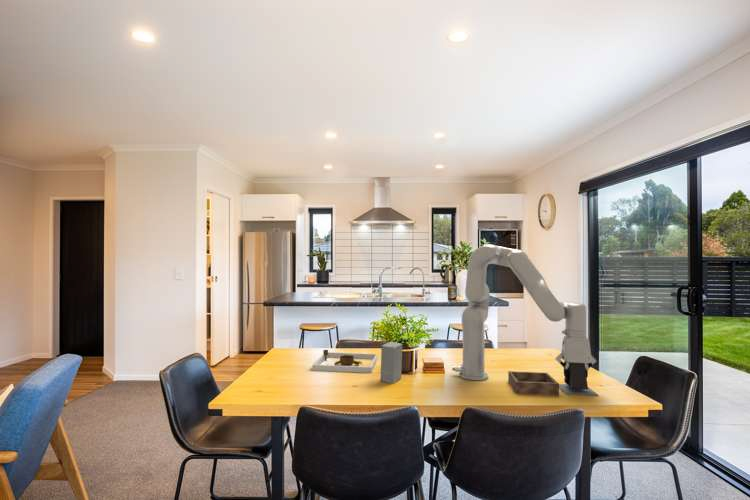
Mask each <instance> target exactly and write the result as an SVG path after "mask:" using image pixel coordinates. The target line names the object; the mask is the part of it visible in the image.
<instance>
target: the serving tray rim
mask: <svg viewBox="0 0 750 500" xmlns="http://www.w3.org/2000/svg"><path fill="white" fill-rule="evenodd" d="M343 355H351V356H354V360H355V359H357V360H358V359H359V360H361V359H362V360H363V359H364V360H372V361H371V363H370V365H369V366H354V365H351V366H343V365H339V366H337V365H338V364H337V365H335V364H334V365H333V364H331V365H330V364H323V362H325V356H324V354H323V353H322V355H321V356H320V357H319V358H318V359H317V360H316V361H314V363H313V364H312V371H317V372H340V373H342V372H343V373H361V374H364V373H366V374H367V373H368V374H370V373H371V374H372V373H373V370H374V369H375V366H376V364H377V362H378V359H379V354H377V353H360V352H359V353H356V352H334V351H333V352H330V351H328V355H327V357H326V358H331V359H333V358H334V359H340V356H343Z"/></svg>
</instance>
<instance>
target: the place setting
mask: <svg viewBox="0 0 750 500" xmlns="http://www.w3.org/2000/svg"><path fill="white" fill-rule="evenodd" d="M328 352H329V350H328V349H324V350H323V353H322V355H323V354H324V356H325V360H324V362H326V361H328V360H327V358H328V357H327V355H328ZM326 357H327V358H326ZM339 364H340V365H341V366H359V365H362V366H363V363H362V361H359V360H358V361H356V360H355V358H354V356H351V355H343V356H340V358H339V360H338V361H335V362H334V365H337V366H340V365H339ZM353 364H354V365H353Z"/></svg>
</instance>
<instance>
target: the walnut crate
mask: <svg viewBox="0 0 750 500" xmlns="http://www.w3.org/2000/svg"><path fill="white" fill-rule="evenodd" d="M507 373H508V375H507V376H508V380H507V382H508V384H509V385H510V386H511V388H512V389H513V391H514V392H515V394H517V393H518V395H519V394H521V395H538V394H540V396H542V395H543V396H560V388H559V384H560V383H559V381H557V380H556V379H555V378H553V376H551V375H550V374H549V372H537V371H534V372H533V371H511V370H510V371H508V372H507Z"/></svg>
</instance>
